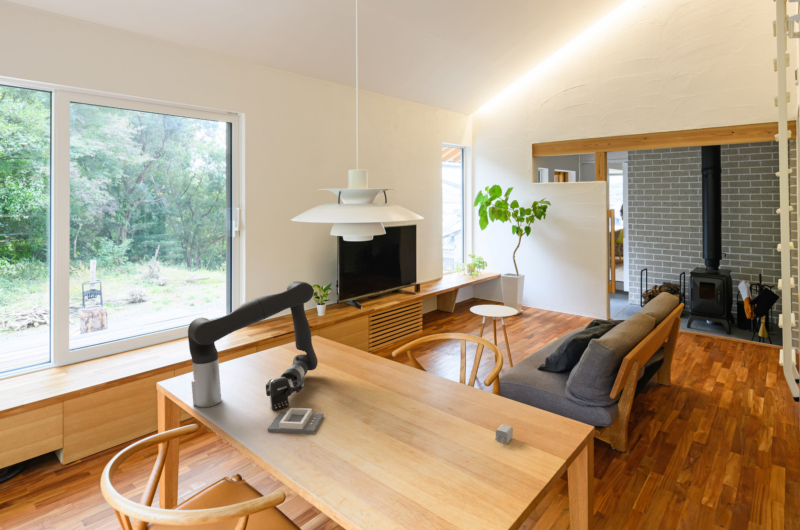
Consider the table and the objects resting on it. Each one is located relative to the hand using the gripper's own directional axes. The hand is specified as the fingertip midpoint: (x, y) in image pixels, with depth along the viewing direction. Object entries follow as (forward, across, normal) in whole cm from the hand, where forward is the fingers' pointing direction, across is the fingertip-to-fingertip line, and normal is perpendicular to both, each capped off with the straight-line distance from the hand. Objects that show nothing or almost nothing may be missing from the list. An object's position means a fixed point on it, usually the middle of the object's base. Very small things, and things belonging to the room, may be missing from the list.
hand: (277, 394), depth 166 cm
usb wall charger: (+15, +80, +7) cm, 82 cm away
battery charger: (-2, 0, +7) cm, 7 cm away
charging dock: (+9, +10, +7) cm, 15 cm away
